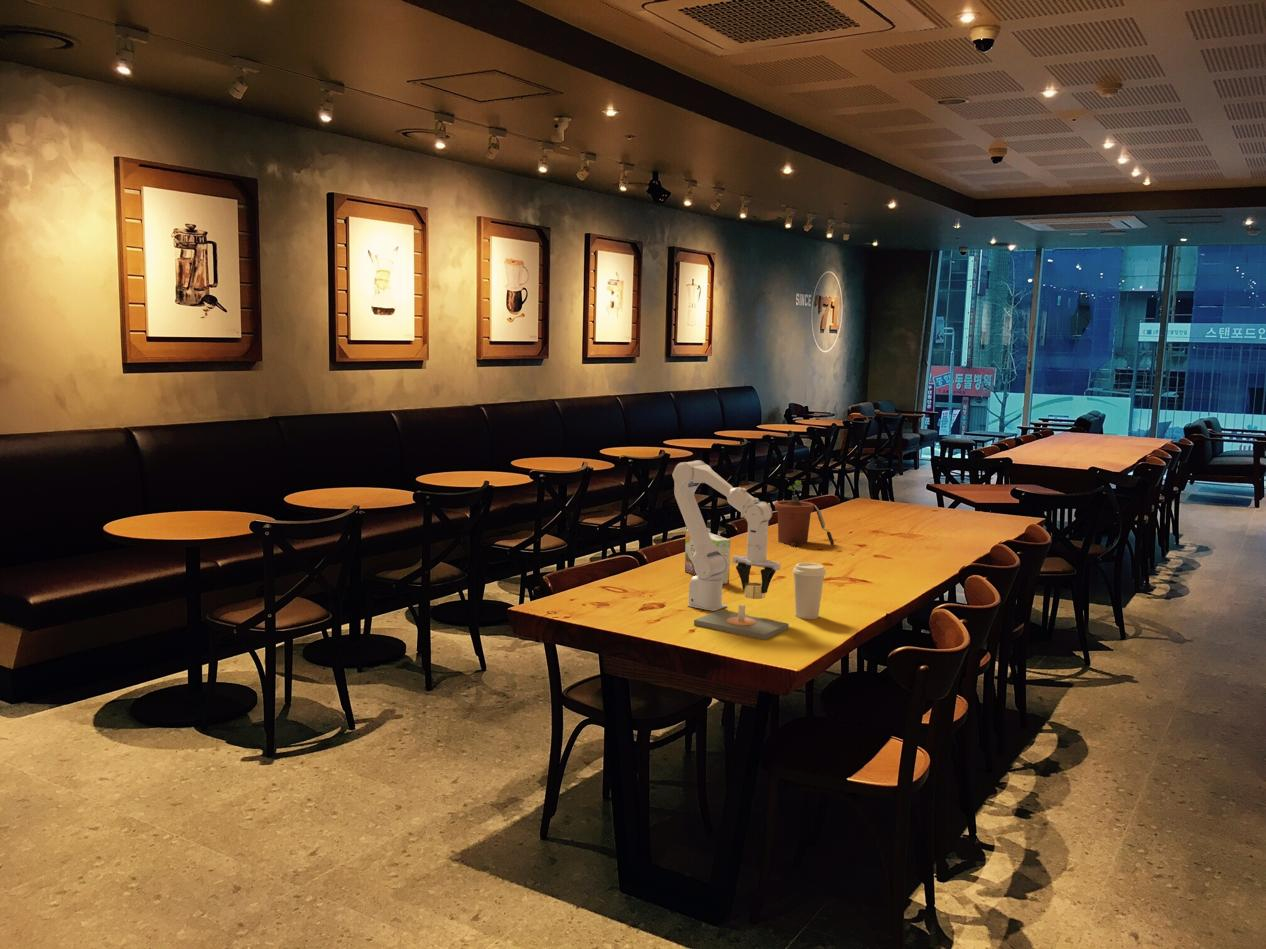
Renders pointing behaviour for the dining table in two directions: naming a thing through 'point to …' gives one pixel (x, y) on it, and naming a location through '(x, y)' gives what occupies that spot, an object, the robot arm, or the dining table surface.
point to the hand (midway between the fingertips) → (754, 590)
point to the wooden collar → (754, 590)
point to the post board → (741, 624)
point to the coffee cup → (808, 589)
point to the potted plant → (796, 520)
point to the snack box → (716, 540)
